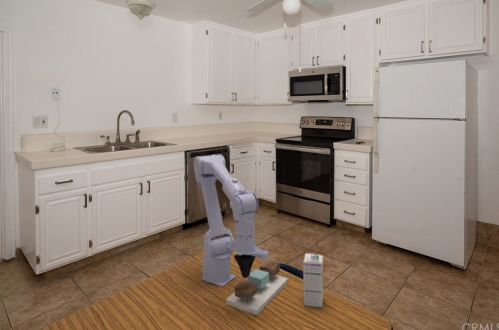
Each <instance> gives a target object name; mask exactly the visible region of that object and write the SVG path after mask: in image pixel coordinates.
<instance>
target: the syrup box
mask: <svg viewBox="0 0 499 330" xmlns="http://www.w3.org/2000/svg"><path fill="white" fill-rule="evenodd" d="M302 269H303V271H302V273H303V281H302V282H303V283H302V284H303V290H302V291H303V306H306V307H314V308H315V307H316V308H323V303H324V255H323V254H320V253H305V254H304V257H303V268H302Z"/></svg>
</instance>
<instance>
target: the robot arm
mask: <svg viewBox="0 0 499 330" xmlns="http://www.w3.org/2000/svg"><path fill="white" fill-rule="evenodd" d="M226 164H227V163H226V159H225V156H224V155H222V154H220V153H219V154H213V155H202V156H198V155H197V156H195V158H194V160H193V170H194V175H195V180H196V182H198V183H200V185H201V191H202V192H201V193H202V196H203V197H202V198H203V201H204V207H205V212H206V213H205V214H206V217H207V223H208V227H209V229H208V230H207V231H206V232H205V234H204V235H203V236H202V237H203V239H202V240H203V251H204V254H205V255H204V256H203V258H202V277H201V280H203V281H204V282H208V283H210V284H214V285H217V286H219V287H224V286H226V285H227V284H229V283H230V282H231V281H232V280H234V279H235V278H236V276H237V275H236V274H233V273H231V256H232V255H233V252H235V255H234V256H233V259H234V260H235V263H237V266H238V268H239V270H240V274H241V278H242V279H248V276H249V275H250V273H251V270H252V267H253V264H254V262H255V259H256V258H258V259H261V260H262V261H266V260H268V259H269V251H267V250H264V249H262V248H260V247H258V246H256V226H255V225H256V224H255V221H256V220H255V214H256V213H255V212H257V210H259V198H258V196H257V195H256V193H255V192H253V191H249V190H247V189H246V188H245V187H244V185H243V184H242V183H241V182H240V180H239V179H238V178H237V177H232V175H231V173H230V172H229V171H228V168H227V166H226ZM216 181H219V182H220V183H221V184H222V187H221V188H222V191H223V192H224V194H225V196H226V197H227V198H228V200H229V201H230V207H231V211H232V216H233V219H234V221H235V222H234V225H235V226H234V227H235V229H234V230H235V239H234V236H233V234H232V233H233V232H232V231H231V230H230V229H229V228H228V227H226V226H224V222H223V215H222V213H221V212H222V211H221V207H220V202H219V197H218V192H217V187H216Z"/></svg>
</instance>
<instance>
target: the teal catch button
mask: <svg viewBox="0 0 499 330" xmlns="http://www.w3.org/2000/svg"><path fill="white" fill-rule="evenodd" d="M247 280H249V281H252V282H255V283H257V288H260V289H262V288H263V287H264V286H265V285H266V284H267V283H268V282H269V273H268V272H265V271H261V270H260V269H257V268H255V269H254V270H253V271H251V272H250V275H249V276H248V277H247Z"/></svg>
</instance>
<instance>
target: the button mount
mask: <svg viewBox="0 0 499 330" xmlns="http://www.w3.org/2000/svg"><path fill="white" fill-rule="evenodd" d="M288 283H289V278H287V277H284V276H281V275H278V274H277V275H276V276H275V277H274V278H270V277H269V282H268V283H267V284H266V285H265V286H264V287H263V288H262V289H260V288H257V294H256V295H255V296H254V297H252V298H251V299H250V300H249V301H247V300H245V299H242V298H239V297H236V296H235V291H234V292H233V293H231V294H230V295H229V296H228V297H227V298H226V299H225V304H226V305H228V306H230V307H234V308H236V309H239V310H242V311H244V312H246V313H249V314H253V315H255V316H258V315H259V313H261V311H262V310H263V309H264V308H265V307H266V306H267V305H268V304H269V303H270V302H271V301H272V300H273V299H274V298H275V297H276V296H277V295H278V294H279V293H280V291H281V290H283V289H284V287H285V286H286V285H287V284H288Z"/></svg>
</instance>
